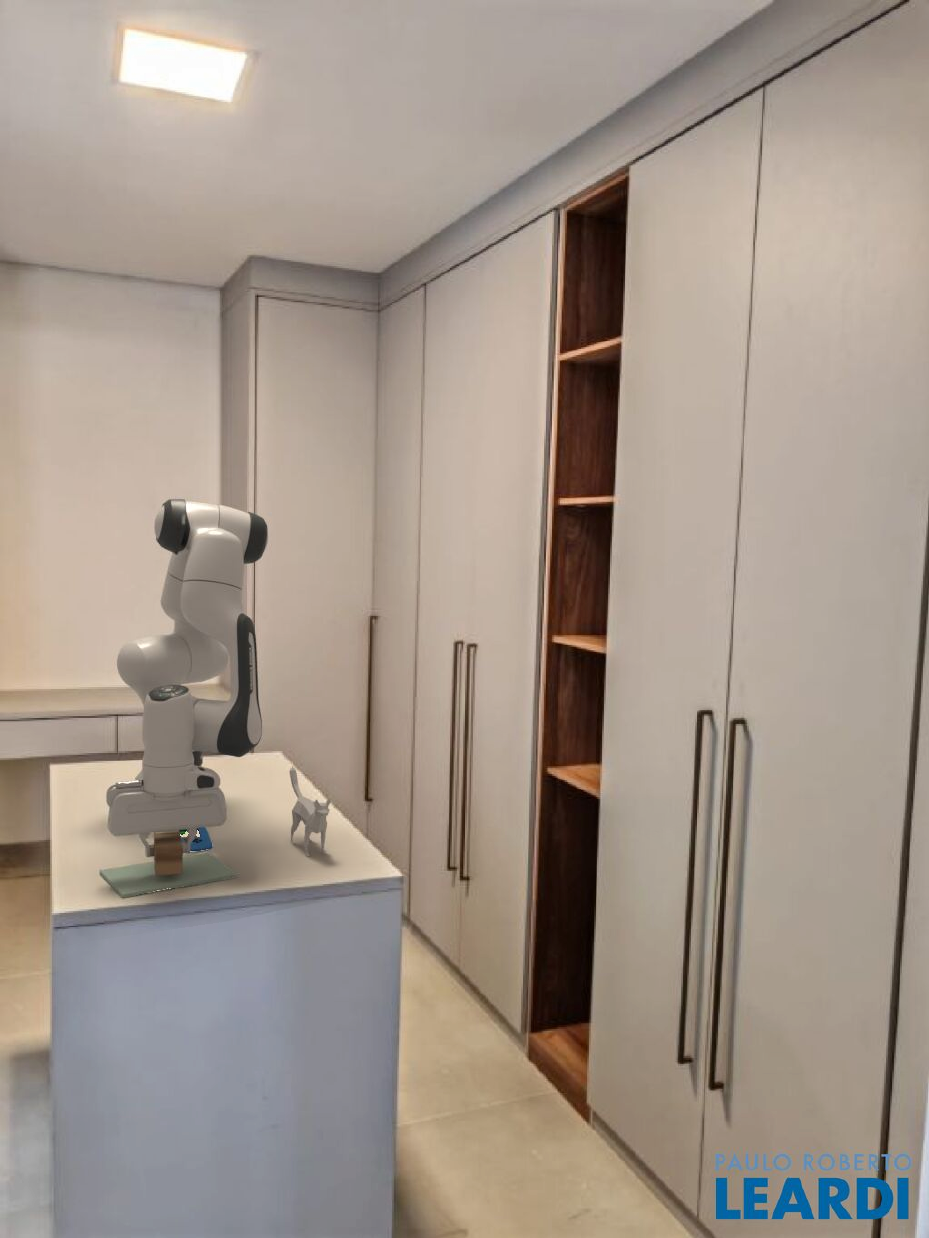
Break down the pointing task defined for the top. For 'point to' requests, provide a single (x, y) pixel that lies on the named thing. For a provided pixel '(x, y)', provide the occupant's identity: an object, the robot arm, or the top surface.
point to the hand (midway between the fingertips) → (168, 854)
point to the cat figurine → (308, 814)
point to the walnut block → (168, 852)
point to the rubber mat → (145, 879)
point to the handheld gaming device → (199, 840)
